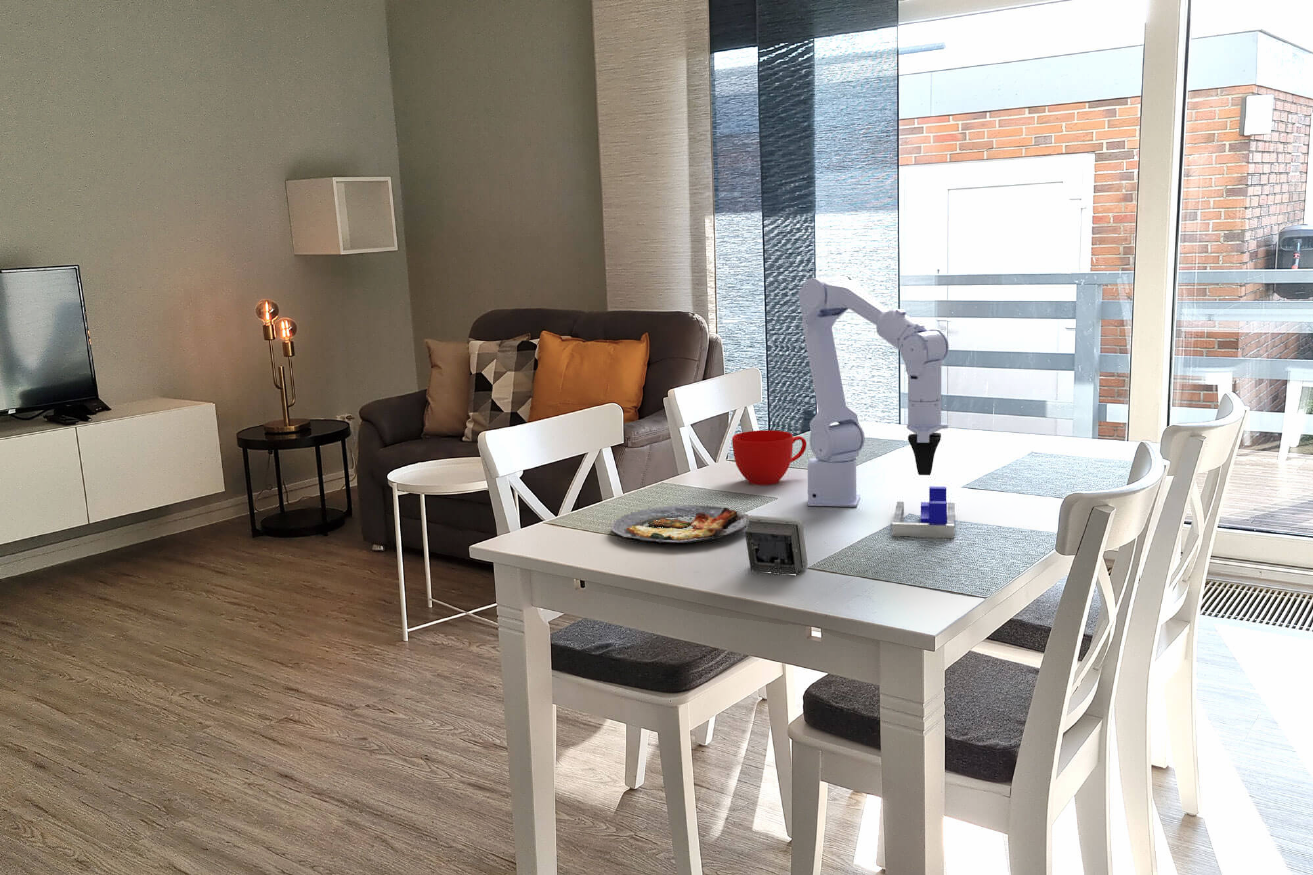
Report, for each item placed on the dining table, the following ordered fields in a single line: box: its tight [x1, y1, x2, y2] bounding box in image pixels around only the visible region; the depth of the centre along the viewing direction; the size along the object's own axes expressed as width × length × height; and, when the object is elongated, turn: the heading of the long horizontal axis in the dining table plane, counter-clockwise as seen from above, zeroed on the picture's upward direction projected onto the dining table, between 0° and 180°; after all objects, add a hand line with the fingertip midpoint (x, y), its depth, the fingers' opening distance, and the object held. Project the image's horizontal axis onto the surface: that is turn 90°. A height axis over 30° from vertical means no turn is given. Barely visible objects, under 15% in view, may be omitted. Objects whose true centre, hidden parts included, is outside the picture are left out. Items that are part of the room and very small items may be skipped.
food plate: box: [611, 504, 749, 544], centre depth 198 cm, size 25×23×4 cm
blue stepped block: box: [920, 485, 948, 524], centre depth 193 cm, size 12×4×6 cm, turn 166°
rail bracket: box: [891, 501, 956, 539], centre depth 194 cm, size 10×15×2 cm
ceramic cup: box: [731, 430, 807, 486], centre depth 232 cm, size 13×17×10 cm
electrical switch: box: [744, 515, 808, 576], centre depth 172 cm, size 9×5×9 cm, turn 65°
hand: (924, 474), depth 193 cm, fingers closed
